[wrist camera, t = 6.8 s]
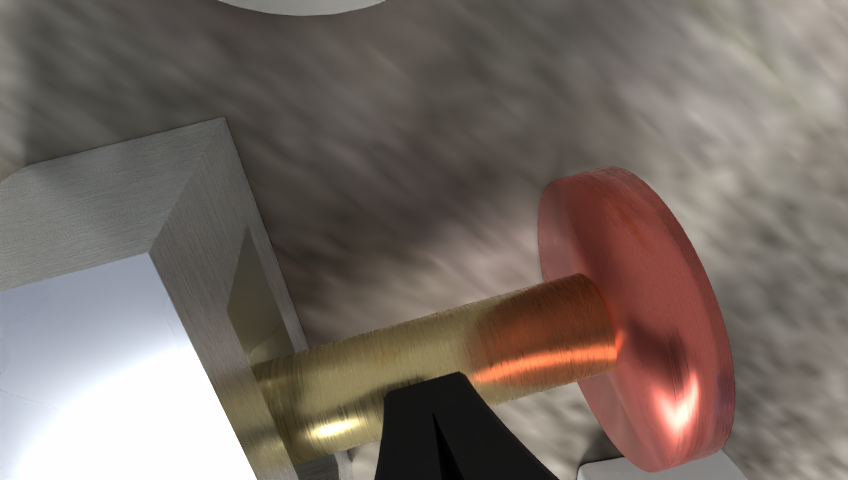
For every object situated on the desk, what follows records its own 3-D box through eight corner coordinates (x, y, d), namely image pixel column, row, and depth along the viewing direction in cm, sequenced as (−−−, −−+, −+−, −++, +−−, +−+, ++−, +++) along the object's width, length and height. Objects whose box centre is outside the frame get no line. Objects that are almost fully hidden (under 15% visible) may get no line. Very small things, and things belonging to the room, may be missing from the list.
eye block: (209, 508, 16) (155, 809, 10) (23, 166, 11) (-257, 359, 6) (352, 465, 16) (377, 733, 10) (224, 116, 12) (148, 252, 6)
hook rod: (109, 481, 15) (1, 762, 9) (-18, 282, 12) (-266, 520, 7) (587, 341, 16) (729, 526, 10) (567, 128, 13) (742, 234, 8)
